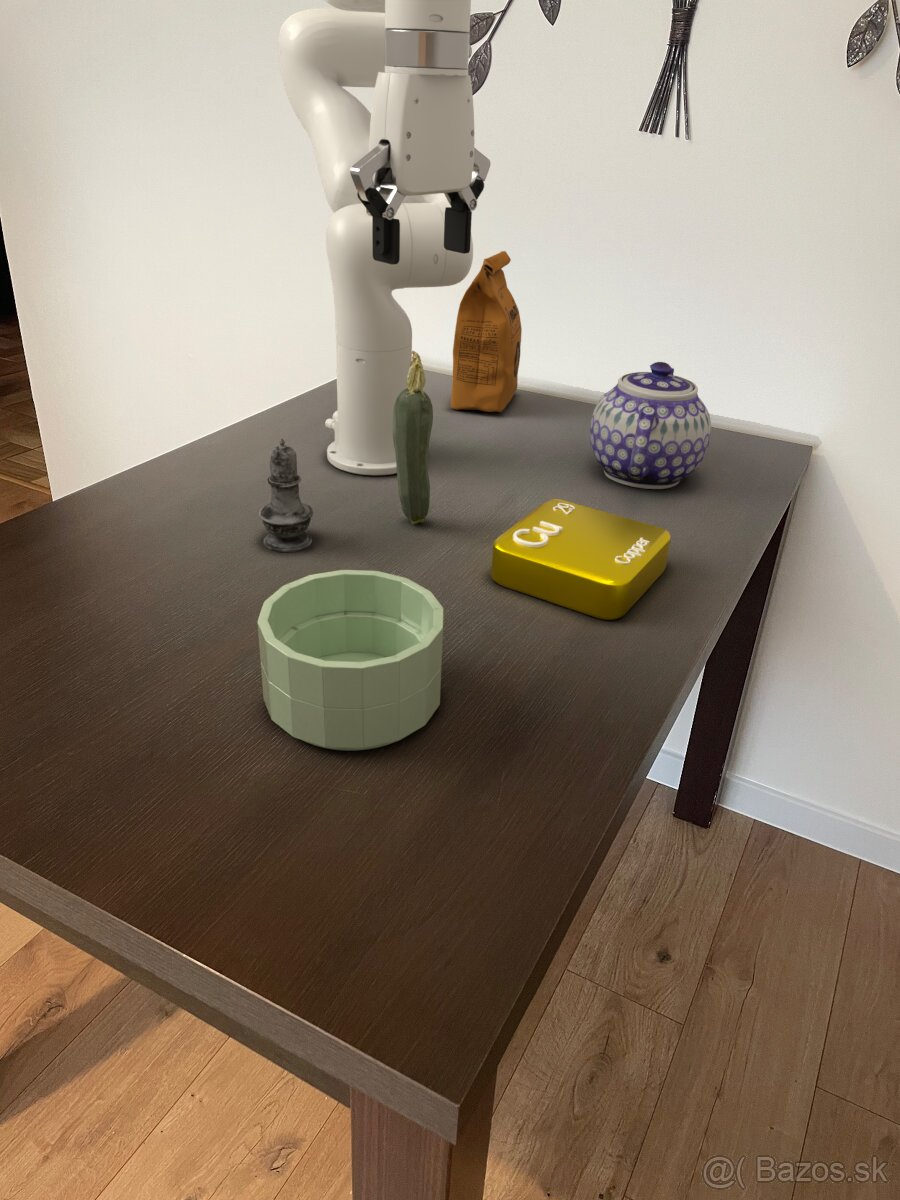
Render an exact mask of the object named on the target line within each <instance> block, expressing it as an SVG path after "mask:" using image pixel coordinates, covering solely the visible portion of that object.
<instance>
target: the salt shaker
mask: <svg viewBox="0 0 900 1200" xmlns="http://www.w3.org/2000/svg"><path fill="white" fill-rule="evenodd" d="M278 444H279V445H278V446H275V447H273V448H272V449H271V450H270V452H269V455H268V456H269V457H268V458H269V471H270V472H269V473H270V476H268V477H267V479H266V480H267V481H266V482H267V483H268V485H269V486H270V501H269V503H267V504H265V505H263V506H262V507H261V508H260V509H259V511H258V516H259V518H260V519H261V520H262V525H263V526H264V529H265V530H266V531H267V532H268V534H267V535H265V537H264V538H263V545H264V546H265V547H266V548H267V549H269V550H271V551H274V552H279V553H295V552H299V551H302V550H305V549H306V548H308V547H309V546H310V545H311V544H312V542H313V539H312V536H311V535H310V534H309V533H307V532H306V530H308V528H309V527H310V526H309V525H310V523H311V520H312V517H313V515H314V509H313V507H311V505H310V504H307V503H305V502H302V501H301V497H300V488H299V487H300V486H299V485H300V483H301V481H302V477H301V476H300V475H299V474H298V461H297V452H296V451H295V449H294V448H292V447H291V446H289V445H286V441H285V439H283V438H280V439H279V441H278Z"/></svg>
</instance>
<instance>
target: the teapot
mask: <svg viewBox="0 0 900 1200" xmlns="http://www.w3.org/2000/svg"><path fill="white" fill-rule="evenodd" d="M649 368H650V371H638V372H637V371H636V372H630V373H626V374H624V375H621V377H619V378H618V380H617V383H616V385H615V386H613V387H612V388H611V389H610V390H609V391H607V392H605V393H604V394H603V395H601V396H600V398H599V399H598V402H597V403H596V406H595V408H594V409H593V413H592V414H591V415H592V416H591V419H590V424H589V443H590V448H591V451H592V455H593V457H594V458H595V460H596V461H597V462H598V464H599V465H600V467H601V468H602V469H603V473H604V475H605V476H606V477H607V478H608V479H609V480H612V481H614V482H616V483H618V484H622V485H626V486H629V487H633V488H639V489H647V490H650V489H651V490H664V489H670V488H673V487H675V486H677V485H678V484H679V483H680V482H681V480H683V479H685V478H686V477H688V476H689V475H690V474H692V473H693V472H695V471H696V470H697V468H698V467H699V465H700V464H701V463H702V461H703V460H704V458H705V457H706V454H707V451H708V449H709V446H710V440H711V433H712V420H711V415H710V413H709V411H708V408H707V406H706V405H705V403H704V401H702V399H701V398H700V397H699V395H698V391H699V388H698V386H697V384H696V383H694V382H693V381H691V380H689V379H687V378H684V377H682V376H678V375H674V374H675V368H674V367H672V366H671V365H670V364H669V363H667V362H664V361H656V362H653V363H652V364H650V365H649Z"/></svg>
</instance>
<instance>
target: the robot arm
mask: <svg viewBox="0 0 900 1200" xmlns="http://www.w3.org/2000/svg"><path fill="white" fill-rule="evenodd" d="M324 1H325V2H326V3H328V4H329V5H330V6H331V7H316V8H315V7H314V8H308V9H303V10H300V11H297V12H295V13H293V14H291V15H289V16H288V17H287V18H286V19H285V20H284V21H283V23H282V25H281V27H280V30H279V34H278V38H277V39H278V41H277V52H278V53H277V54H278V62H279V69H280V74H281V79H282V83H283V86H284V87H283V88H284V90H285V92H286V96H287V98H288V100H289V103H290V105H291V108H292V110H293V112H294V113H295V116H296V117H297V119H298V120H299V122H300V125H301V126H302V128H303V129H304V130H305V133H306V134H307V136H308V137H309V140H310V142H311V143H312V144H311V146H312V149H313V152H314V156H315V160H316V164H317V169H318V173H319V177H320V180H321V184H322V188H323V193H324V195H325V199H326V201H327V204H328V206H329V207H330V210H331V212H333V213H332V215H331V216H330V218H329V219H328V221H327V224H326V228H325V248H326V250H325V251H326V255H327V262H328V267H329V273H330V279H331V284H332V285H331V286H332V295H333V306H334V319H335V320H334V321H335V322H334V324H335V356H336V357H335V359H336V397H337V398H336V399H337V410H335V411H334V412H333V414H332V417H331V418H330V417H328V418H327V419H326V420H325V422H324V426H325V427H326V429H329V430H331V431H334V441H332V442H331V443H330V444H329V445H328V446H327V448H326V458H327V461H328V462H329V464H330V465H332V466H333V467H335V468H337V469H339V470H341V471H344V472H346V473H351V474H356V475H362V476H388V475H394V474H396V475H397V466H396V455H395V448H394V442H393V410H394V404H395V401H396V398H397V397H398V395H399V394H400V393H401V392H402V391H403V390H404V389H406V388H408V387H407V375H408V373H409V368H410V363H411V361H412V357H413V354H412V351H413V328H412V323H411V320H410V318H409V316H408V314H407V313H406V311H405V310H404V308H403V307H402V306H401V305H400V304H399V303H398V301H397V300H396V299H395V297H394V296H393V293H392V292H393V291H395V290H402V289H412V288H414V289H415V288H416V289H417V288H418V289H419V288H441V287H451V286H455V285H457V284H460V283H461V282H463V281H464V280H465V278H467V276H468V274H469V273H470V271H471V269H472V265H473V260H474V243H473V234H472V219H473V217H472V216H473V212H474V211H475V210H476V209H477V207H478V199H479V197H480V196H481V194H482V193H483V191H484V189H485V182H486V179H487V177H488V173H489V171H490V168H491V166H492V165H491V164H492V163H491V160H490V159H489V158H488V157H487V156H486V155H485V154H483V153H482V152H481V151H479V150H478V149H477V148H476V147H475V112H474V111H475V110H474V95H473V86H472V78H471V75H469V59H471V57H472V54H473V49H472V45H471V44H470V38H471V37H470V35H471V34H470V32H471V31H470V30H471V11H472V9H471V8H472V0H324ZM345 87H347V88H374V90H373V97H372V103H371V104H372V105H371V112H370V110H368V108H367V107H366V106H365V104H363V103H362V101H360V100H359V99H358V98H357V97H356V96H355V95H353V94H352V93H351V92H349V91H348V90H347V89H345Z"/></svg>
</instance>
